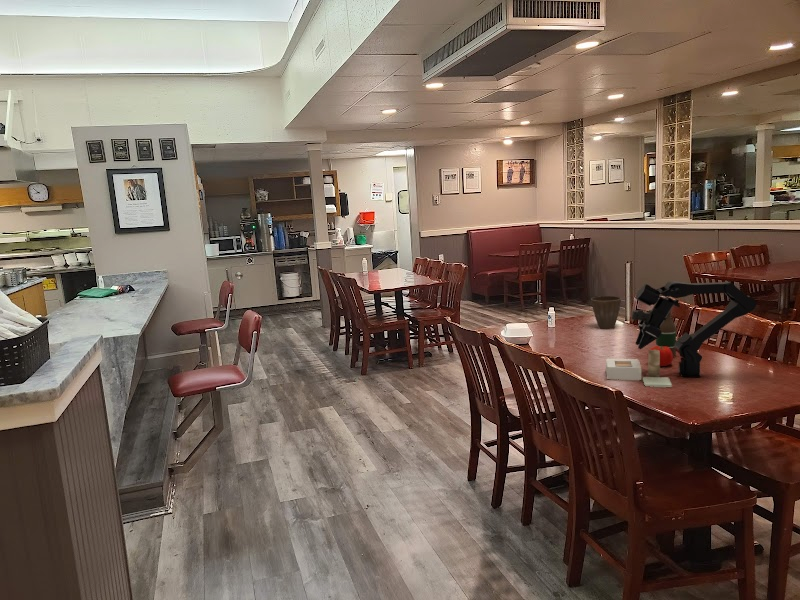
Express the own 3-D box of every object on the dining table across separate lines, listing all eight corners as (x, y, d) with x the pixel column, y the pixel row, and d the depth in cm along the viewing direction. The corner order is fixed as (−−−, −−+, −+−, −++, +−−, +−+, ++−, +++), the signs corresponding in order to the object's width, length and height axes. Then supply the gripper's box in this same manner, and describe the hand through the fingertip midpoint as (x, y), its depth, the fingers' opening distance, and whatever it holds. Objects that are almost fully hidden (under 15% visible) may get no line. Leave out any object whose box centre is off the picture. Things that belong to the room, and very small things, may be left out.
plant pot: (603, 332, 293) (603, 301, 290) (585, 327, 307) (585, 298, 304) (627, 328, 298) (627, 298, 295) (608, 323, 312) (608, 295, 309)
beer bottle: (655, 357, 241) (655, 302, 238) (656, 353, 248) (656, 299, 244) (675, 358, 238) (676, 302, 234) (676, 354, 245) (676, 299, 241)
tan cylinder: (658, 374, 219) (659, 349, 217) (660, 377, 215) (660, 352, 213) (647, 374, 220) (647, 349, 218) (648, 377, 216) (648, 352, 215)
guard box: (638, 371, 225) (638, 358, 224) (641, 380, 213) (641, 367, 212) (606, 370, 228) (606, 358, 227) (607, 379, 217) (607, 366, 216)
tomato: (670, 362, 234) (671, 344, 233) (674, 368, 226) (674, 350, 224) (646, 361, 237) (646, 344, 236) (648, 367, 228) (648, 349, 227)
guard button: (629, 367, 222) (629, 363, 222) (630, 371, 217) (630, 367, 217) (615, 367, 223) (615, 363, 223) (616, 370, 219) (616, 367, 219)
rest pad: (668, 380, 212) (668, 377, 212) (671, 387, 203) (671, 385, 203) (642, 379, 215) (642, 376, 214) (644, 386, 206) (644, 384, 206)
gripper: (637, 299, 225) (616, 332, 228) (642, 303, 207) (620, 339, 210) (664, 312, 222) (642, 346, 226) (671, 318, 204) (648, 355, 208)
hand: (637, 346), depth 217 cm, fingers open, 9 cm apart
